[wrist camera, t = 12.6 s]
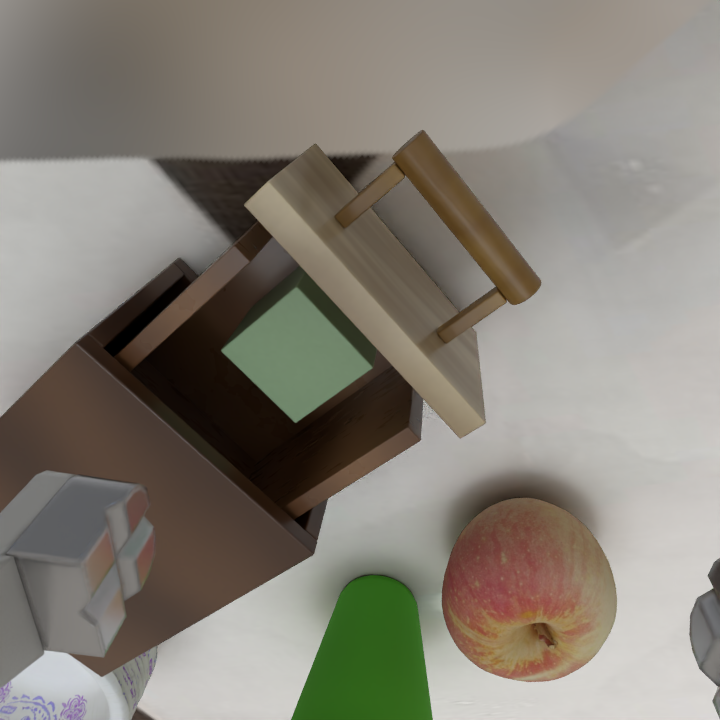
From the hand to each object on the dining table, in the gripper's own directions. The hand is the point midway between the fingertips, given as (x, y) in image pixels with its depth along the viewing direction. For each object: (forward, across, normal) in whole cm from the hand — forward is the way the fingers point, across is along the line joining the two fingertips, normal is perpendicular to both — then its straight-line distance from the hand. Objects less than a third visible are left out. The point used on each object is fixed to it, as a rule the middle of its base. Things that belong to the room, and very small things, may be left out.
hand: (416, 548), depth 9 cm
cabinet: (+21, +14, +14) cm, 28 cm away
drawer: (+20, +5, +5) cm, 21 cm away
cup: (+21, +1, +26) cm, 34 cm away
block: (+19, +5, +5) cm, 20 cm away
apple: (+21, -7, +19) cm, 29 cm away
